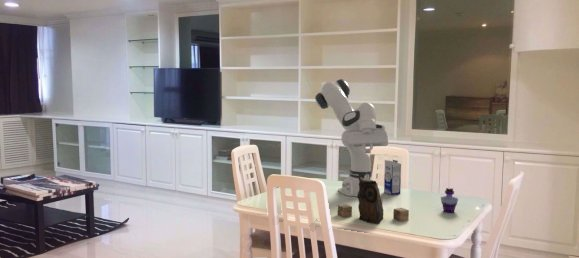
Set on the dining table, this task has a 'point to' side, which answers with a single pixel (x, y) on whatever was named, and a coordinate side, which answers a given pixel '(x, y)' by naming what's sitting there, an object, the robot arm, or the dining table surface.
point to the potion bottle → (449, 201)
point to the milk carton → (392, 177)
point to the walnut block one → (344, 210)
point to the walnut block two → (401, 214)
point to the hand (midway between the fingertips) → (367, 152)
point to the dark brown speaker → (369, 201)
